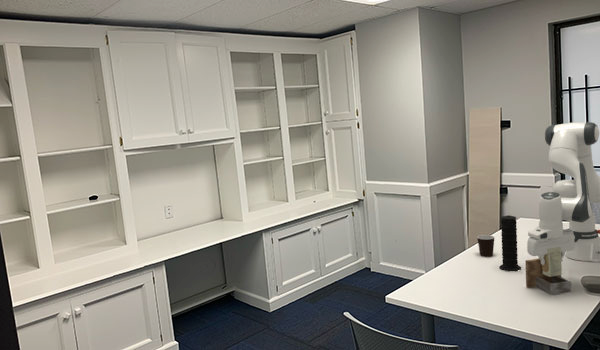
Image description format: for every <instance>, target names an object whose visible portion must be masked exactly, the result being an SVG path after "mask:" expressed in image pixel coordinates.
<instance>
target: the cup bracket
mask: <svg viewBox="0 0 600 350" xmlns="http://www.w3.org/2000/svg"><path fill="white" fill-rule="evenodd" d="M525 286H526V288H527V289H530V288H537V289H539V290H540V291H542V292H545V293H547V294H548V295H550V296H556V295H561V294H562V295H563V294H567V293H572V281H570V280H568V279H567V278H564V277H562V275H557V276H551V277H549V276H546V275H544V274H543V269H542V264H541V260H540V258H539V257H538V258H533V259H527V260H525Z"/></svg>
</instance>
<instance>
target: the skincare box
mask: <svg viewBox="0 0 600 350" xmlns="http://www.w3.org/2000/svg"><path fill="white" fill-rule="evenodd" d="M543 258H544V260H546V263H547V264H545V265H542V269H543V274H544V275H546V276H549V277H551V276H557V275H561V276H562V275H563V272H562V271H563V268H562V266H563V265H562V262H561V247H557V248H550V249H548V254H546V255H544V257H543Z"/></svg>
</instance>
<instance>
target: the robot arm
mask: <svg viewBox="0 0 600 350" xmlns="http://www.w3.org/2000/svg"><path fill="white" fill-rule="evenodd" d="M599 137H600V130H599V126H598V125H597V124H596V123H595V122H591V121H586V122H576V121H575V122H568V123H561V124H559V123H558V124H551V125H548V126H547V127H546V129H545V133H544V141H545V142H546V144H547V145H548V146H549V152H548V163H549V165H550V166H551V168H552V169H553V170H555V171H556V172H558V173H561V174H564V175H567V176H569V177H571V178H573V179H562V180H557V181H556V182H555V183H554V184H553V188H552V191H548V192H543V193H542V194H540V197H539V201H538V216H539V221H538V222H539V223H538V226H536V227H534V228H533V229H531V230H529V231H528V233H527V235H528V239H527V243H526V244H527V247H526V249H527V250H526V251H527V253H528V255H530V256H532V257H538V258H540V260H541V264H542V265H545V264H547V263H546V260H544V258H543V257H544V255H546V254H548V249H550V248H557V247H561V263H562V262H563V260H564V257H567V258H569V259H571V260H575V261H582V262H583V261H584V262H593V263H599V262H600V236H599V234H600V229H596V216H595V214H594V212H593V211H592V206H591V204H600V176H599V174H598V173H597V172H596V170H595V166H594V161H593V154H592V147H591V146H592V145H595V144H596V143H597V142H598V140H599ZM563 221H568V225H569V226H568V227H569V228H566V229H565V228H564V222H563Z"/></svg>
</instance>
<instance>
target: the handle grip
mask: <svg viewBox="0 0 600 350" xmlns="http://www.w3.org/2000/svg"><path fill="white" fill-rule="evenodd" d="M500 219H501V220H500V224H501V225H500V226H501V228H500V230H501V257H502V264H500V265H499V266H498V268H499V270H501V271H503V270H505V271H504V272H510V271H515V272H519V271H518V270H520V271H521V270H522V269H521V268H522V267H521V266H520V265H519V264H518V262H519V261H518V255H519V254H518V234H517V233H518V232H517V231H518V229H517V227H518V226H517V216H514V215H513V216H512V215H510V214H509V215H502V216H500Z"/></svg>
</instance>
